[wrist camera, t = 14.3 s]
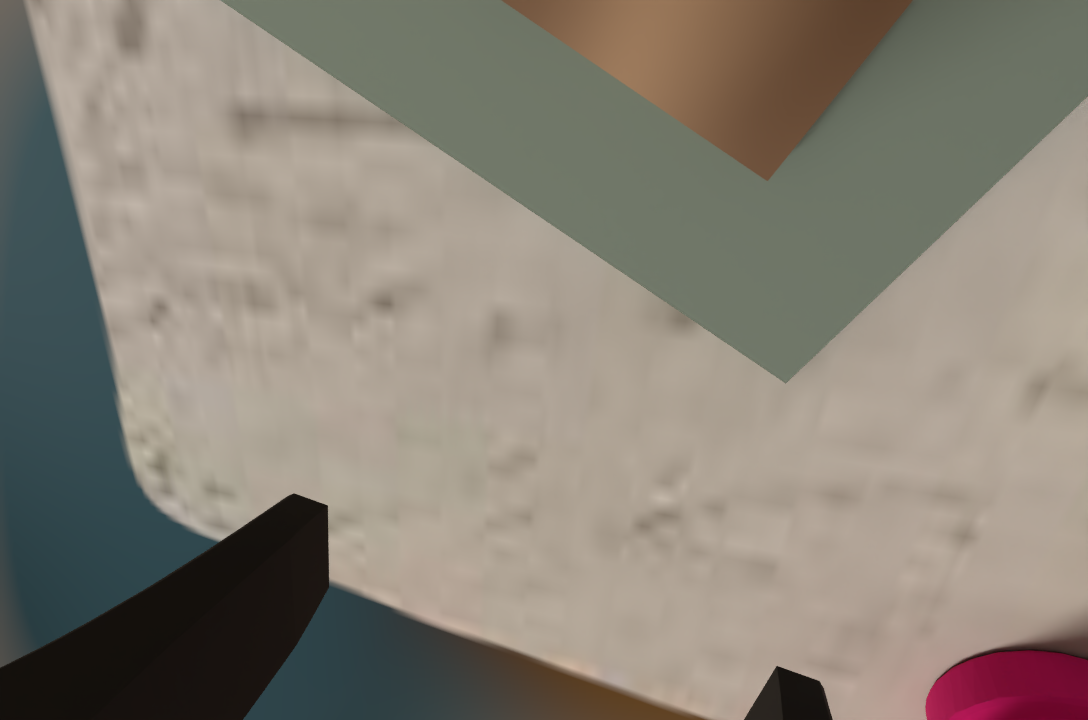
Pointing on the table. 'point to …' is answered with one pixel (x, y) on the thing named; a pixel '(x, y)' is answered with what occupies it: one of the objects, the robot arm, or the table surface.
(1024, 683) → the pepper mill
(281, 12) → the mat
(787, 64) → the lid
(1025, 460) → the table surface
